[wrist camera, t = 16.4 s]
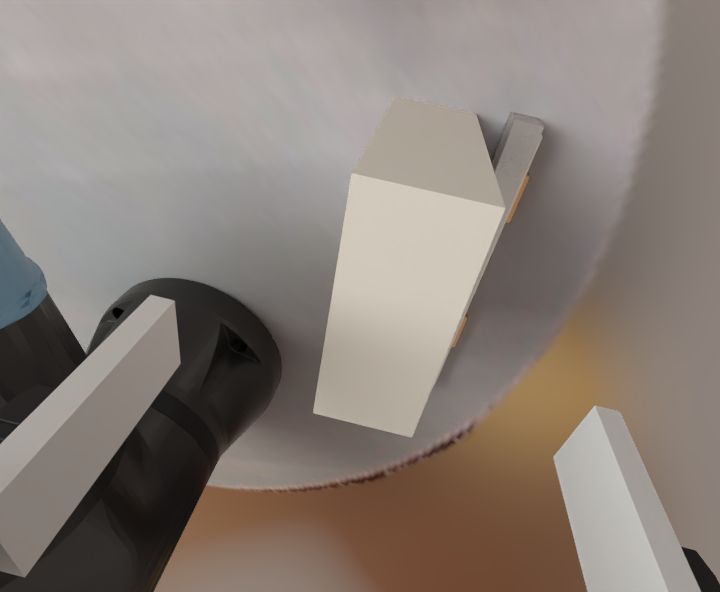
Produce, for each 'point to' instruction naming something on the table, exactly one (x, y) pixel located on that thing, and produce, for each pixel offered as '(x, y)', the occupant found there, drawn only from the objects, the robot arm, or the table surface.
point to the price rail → (508, 183)
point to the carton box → (406, 263)
